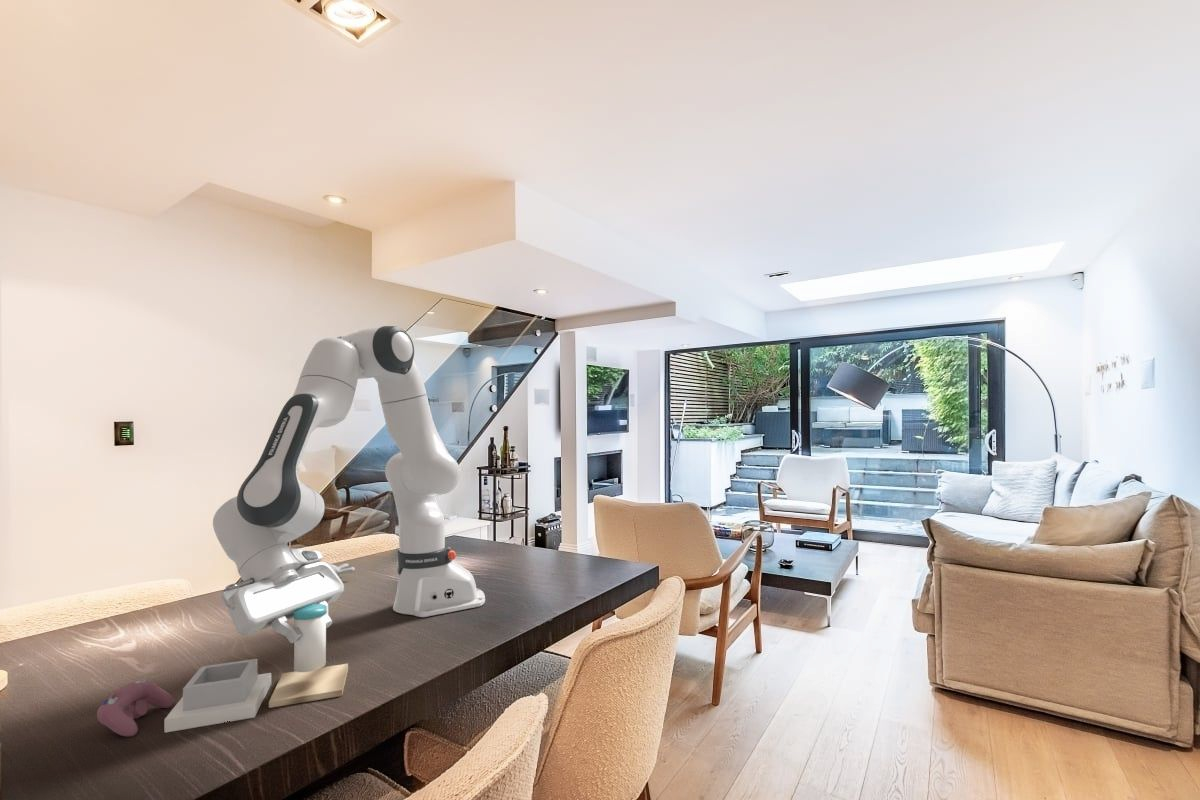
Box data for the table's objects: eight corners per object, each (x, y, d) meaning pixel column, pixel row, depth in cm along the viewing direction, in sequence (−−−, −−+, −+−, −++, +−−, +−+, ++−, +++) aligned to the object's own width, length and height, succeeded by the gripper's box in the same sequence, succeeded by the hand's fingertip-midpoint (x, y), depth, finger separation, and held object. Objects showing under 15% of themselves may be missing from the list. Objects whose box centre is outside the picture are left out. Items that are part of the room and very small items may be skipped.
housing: (271, 683, 101) (271, 653, 101) (254, 717, 90) (254, 682, 90) (192, 696, 97) (192, 663, 97) (164, 732, 86) (164, 696, 86)
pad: (348, 668, 106) (348, 663, 106) (342, 695, 96) (342, 689, 96) (282, 678, 103) (282, 673, 103) (268, 707, 92) (268, 701, 92)
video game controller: (152, 716, 94) (131, 679, 94) (178, 701, 94) (158, 665, 94) (106, 751, 84) (83, 710, 84) (136, 735, 84) (113, 694, 84)
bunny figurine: (290, 571, 162) (345, 556, 172) (293, 589, 162) (347, 572, 172) (299, 578, 155) (355, 561, 165) (302, 596, 155) (357, 578, 165)
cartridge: (328, 657, 103) (328, 602, 103) (324, 669, 98) (324, 611, 98) (296, 662, 101) (296, 606, 101) (290, 674, 96) (291, 615, 96)
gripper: (226, 576, 93) (268, 644, 89) (326, 548, 112) (365, 603, 108) (207, 601, 94) (248, 668, 90) (309, 569, 113) (347, 624, 110)
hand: (312, 632), depth 99 cm, fingers closed on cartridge, 5 cm apart
